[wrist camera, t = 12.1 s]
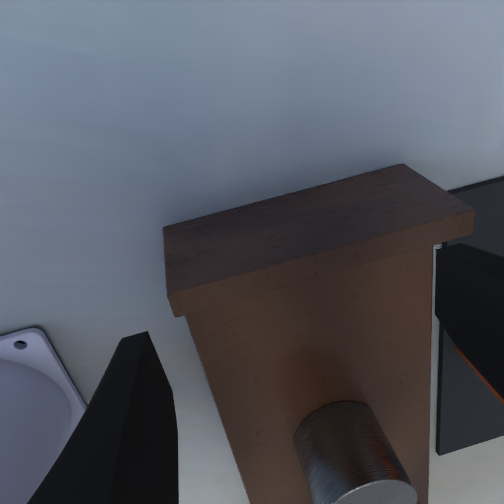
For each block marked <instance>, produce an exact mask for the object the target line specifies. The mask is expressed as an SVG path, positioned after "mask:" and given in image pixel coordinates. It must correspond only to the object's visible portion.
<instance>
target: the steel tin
mask: <svg viewBox="0 0 504 504" xmlns="http://www.w3.org/2000/svg"><path fill="white" fill-rule="evenodd" d="M294 446H295V449H296V453H297V456H298V459H299V462H300V465H301V468H302V471H303V474H304V477H305V480H306V483H307V486H308V489H309V492H310V495H311V498H312V502H313V504H417V499H418V498H417V492H416V490H415V488H414V486H413V484H412V482H411V480H410V479H409V477H408V475H407V473H406V471H405V469H404V468H403V466H402V464H401V462H400V460H399V458H398V457H397V455H396V453H395V451H394V449H393V447H392V446H391V444H390V442H389V440H388V438H387V436H386V435H385V433H384V431H383V429H382V427H381V425H380V424H379V422H378V420H377V418H376V416H375V414H374V413H373V411H372V410H371V409H370V408H369V407H367V406H366V405H364V404H362V403H358V402H353V401H342V402H336V403H332V404H329V405H326V406H324V407H321V408H319V409H318V410H316V411H314V412H313V413H311V414H310V415H309V416H307V417H306V418H305V419H304V420H303V421H302V423H301V424H300V425H299V427H298V428H297V430H296V433H295V436H294Z"/></svg>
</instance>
